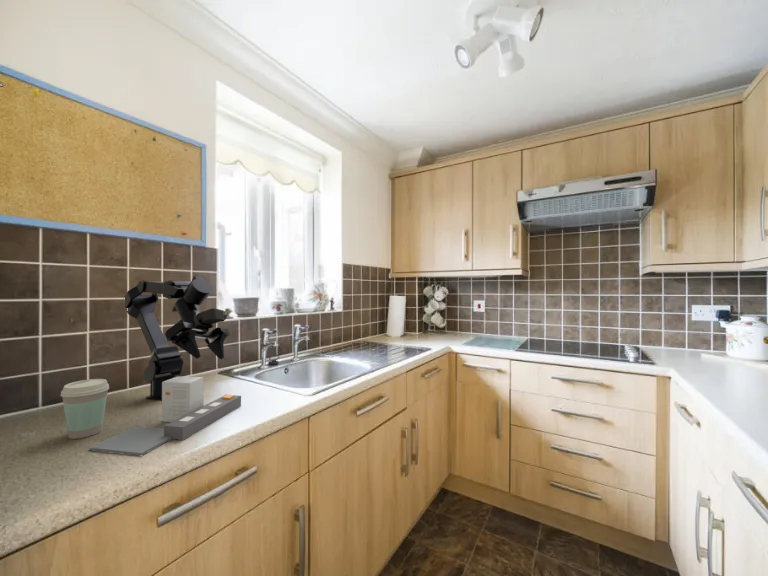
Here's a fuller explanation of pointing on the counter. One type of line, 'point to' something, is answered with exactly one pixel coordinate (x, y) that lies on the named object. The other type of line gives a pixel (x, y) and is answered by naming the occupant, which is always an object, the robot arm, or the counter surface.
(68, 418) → the coffee cup
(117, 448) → the rubber mat
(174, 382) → the small box
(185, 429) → the power strip
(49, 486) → the counter surface
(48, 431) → the counter surface
